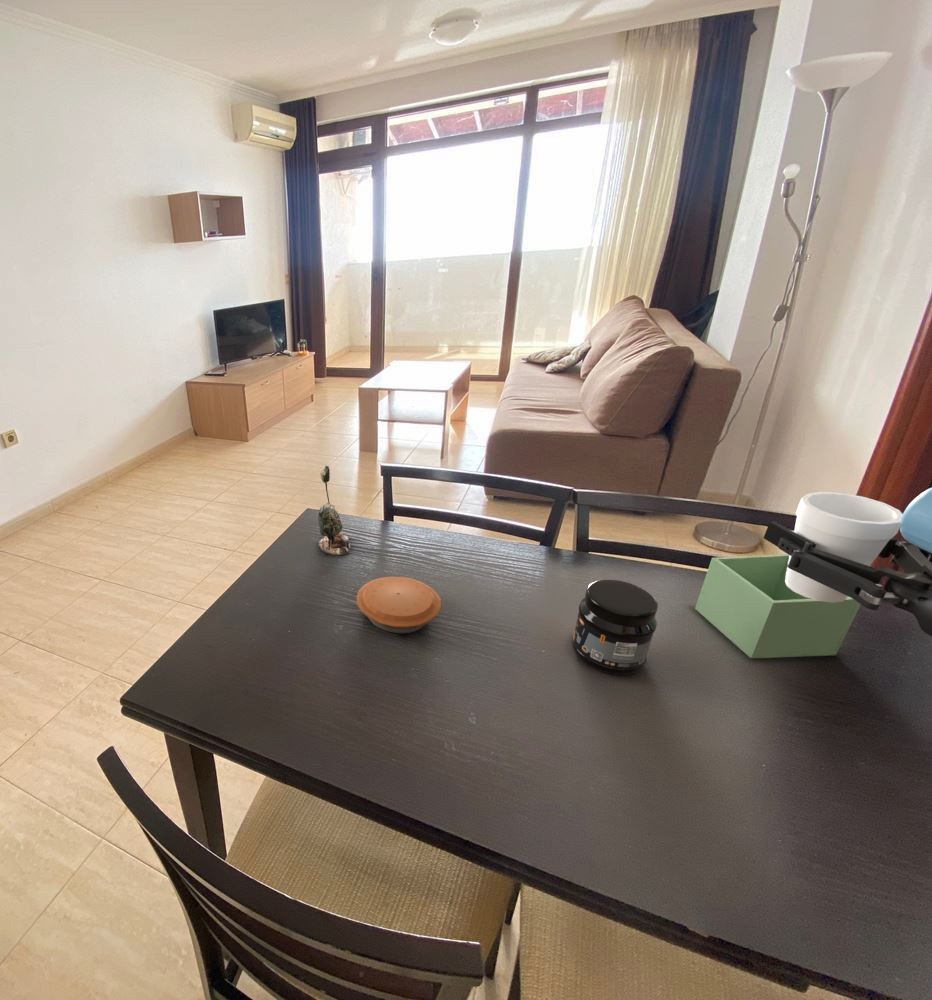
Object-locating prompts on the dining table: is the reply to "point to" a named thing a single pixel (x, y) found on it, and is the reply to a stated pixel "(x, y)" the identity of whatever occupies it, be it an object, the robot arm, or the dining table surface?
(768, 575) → the open green box
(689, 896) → the dining table surface
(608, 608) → the supplement container
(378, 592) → the pie
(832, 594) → the foam cup
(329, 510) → the plant with pod
